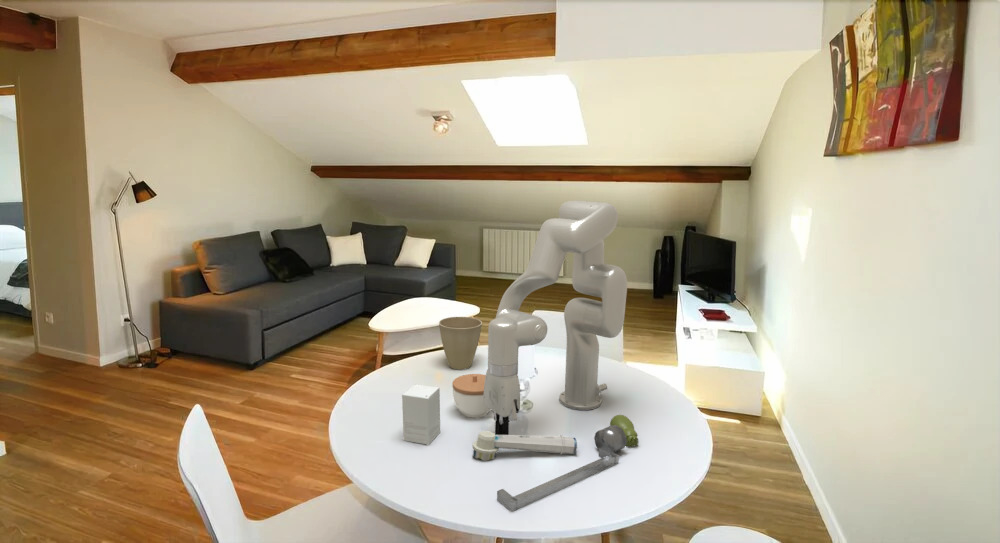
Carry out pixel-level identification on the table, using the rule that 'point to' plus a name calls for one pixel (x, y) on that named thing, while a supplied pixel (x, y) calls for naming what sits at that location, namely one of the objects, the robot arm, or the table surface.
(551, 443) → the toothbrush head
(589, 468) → the ladle
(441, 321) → the plant pot
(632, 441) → the pear
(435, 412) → the supplement box
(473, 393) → the lidded bowl
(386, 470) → the table surface
